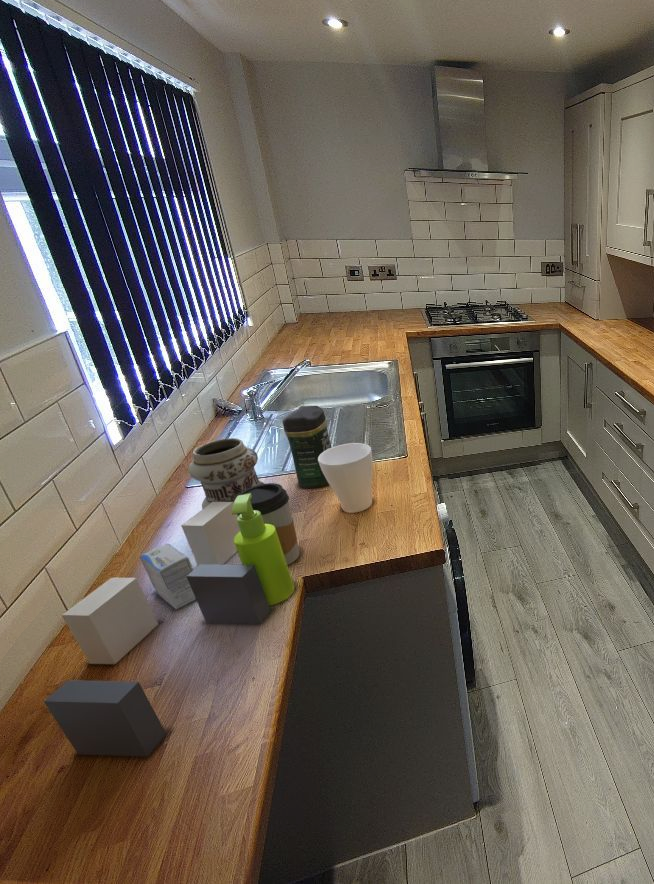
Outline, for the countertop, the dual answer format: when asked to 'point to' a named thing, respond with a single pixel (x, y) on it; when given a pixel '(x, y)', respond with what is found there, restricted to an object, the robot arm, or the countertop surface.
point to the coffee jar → (307, 443)
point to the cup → (349, 474)
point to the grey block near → (106, 717)
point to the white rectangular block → (111, 620)
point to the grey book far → (229, 593)
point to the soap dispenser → (262, 550)
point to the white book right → (212, 533)
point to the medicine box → (169, 574)
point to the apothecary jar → (224, 469)
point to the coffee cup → (276, 515)
